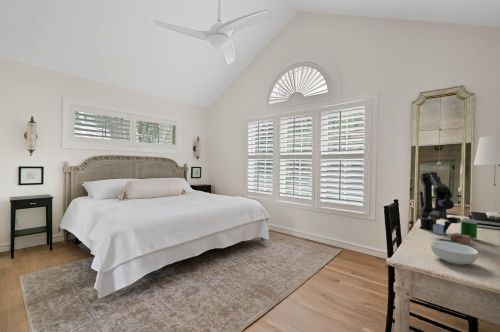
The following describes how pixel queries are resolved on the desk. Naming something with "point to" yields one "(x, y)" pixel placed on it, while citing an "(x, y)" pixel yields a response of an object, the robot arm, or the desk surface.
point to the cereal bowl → (454, 252)
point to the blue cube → (438, 229)
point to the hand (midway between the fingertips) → (439, 231)
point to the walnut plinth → (460, 238)
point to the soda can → (469, 228)
